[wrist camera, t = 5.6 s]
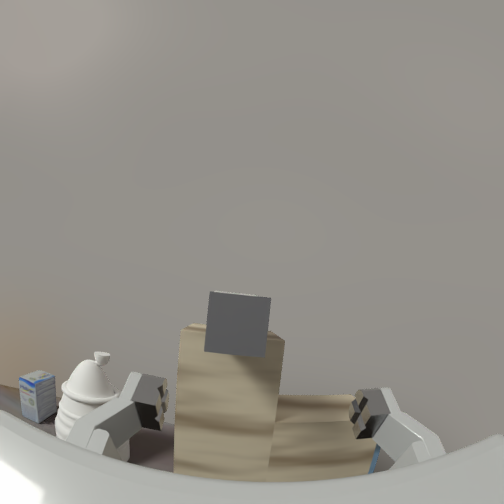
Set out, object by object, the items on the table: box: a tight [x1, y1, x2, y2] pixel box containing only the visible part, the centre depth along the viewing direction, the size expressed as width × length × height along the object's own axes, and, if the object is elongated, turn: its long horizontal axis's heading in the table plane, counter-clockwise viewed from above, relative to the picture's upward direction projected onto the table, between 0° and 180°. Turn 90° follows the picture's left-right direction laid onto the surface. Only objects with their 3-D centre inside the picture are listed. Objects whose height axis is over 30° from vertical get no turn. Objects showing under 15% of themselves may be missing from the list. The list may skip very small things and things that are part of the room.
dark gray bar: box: [204, 291, 271, 358], centre depth 24 cm, size 20×4×4 cm, turn 4°
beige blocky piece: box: [174, 323, 381, 482], centre depth 23 cm, size 8×19×26 cm, turn 94°
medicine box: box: [19, 370, 57, 423], centre depth 39 cm, size 8×4×9 cm, turn 6°
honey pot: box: [55, 352, 130, 462], centre depth 35 cm, size 13×13×18 cm
